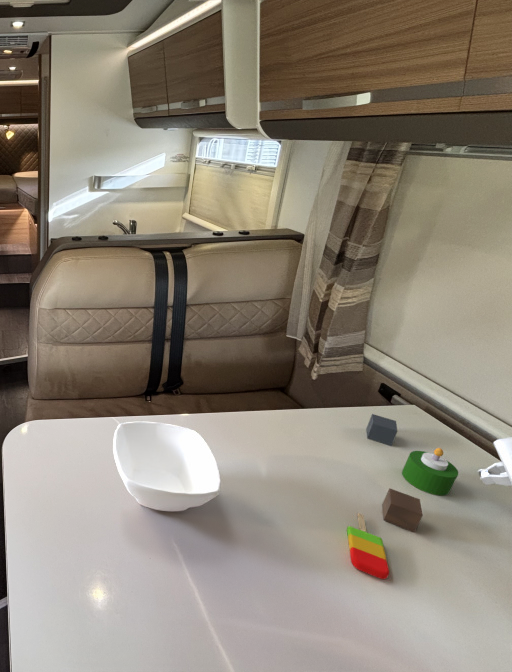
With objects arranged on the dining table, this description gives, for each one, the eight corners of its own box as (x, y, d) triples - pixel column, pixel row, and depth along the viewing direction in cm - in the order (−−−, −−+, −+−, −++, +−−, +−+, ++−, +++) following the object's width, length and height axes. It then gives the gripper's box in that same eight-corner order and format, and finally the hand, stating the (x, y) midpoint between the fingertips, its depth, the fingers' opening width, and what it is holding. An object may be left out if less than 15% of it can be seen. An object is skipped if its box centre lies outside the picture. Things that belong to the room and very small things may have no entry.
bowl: (112, 526, 91) (117, 486, 87) (106, 452, 111) (110, 416, 107) (222, 542, 87) (233, 501, 83) (196, 462, 108) (203, 426, 103)
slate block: (389, 435, 116) (396, 420, 114) (391, 446, 112) (397, 431, 110) (366, 428, 119) (372, 413, 117) (367, 438, 115) (372, 423, 113)
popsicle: (351, 567, 82) (354, 561, 82) (343, 511, 94) (345, 505, 93) (388, 583, 80) (391, 576, 79) (375, 522, 91) (377, 516, 91)
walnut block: (411, 516, 93) (419, 499, 91) (414, 532, 89) (423, 515, 87) (382, 504, 95) (389, 488, 94) (383, 520, 92) (390, 503, 90)
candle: (407, 463, 107) (421, 431, 103) (452, 484, 100) (469, 450, 97) (397, 478, 102) (411, 446, 98) (444, 501, 96) (462, 467, 92)
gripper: (540, 422, 94) (461, 439, 103) (579, 481, 78) (481, 494, 87) (562, 446, 93) (480, 461, 102) (605, 511, 77) (503, 521, 87)
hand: (480, 477), depth 94 cm, fingers closed
